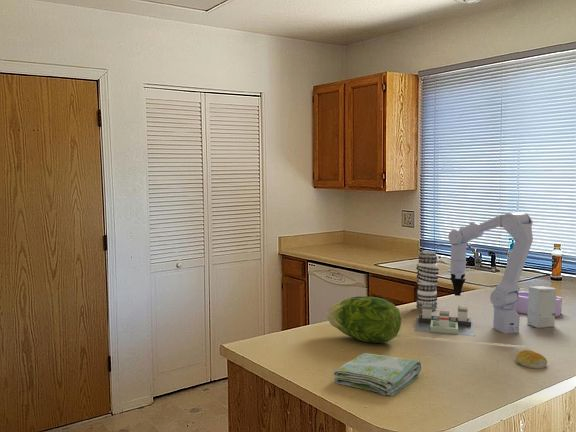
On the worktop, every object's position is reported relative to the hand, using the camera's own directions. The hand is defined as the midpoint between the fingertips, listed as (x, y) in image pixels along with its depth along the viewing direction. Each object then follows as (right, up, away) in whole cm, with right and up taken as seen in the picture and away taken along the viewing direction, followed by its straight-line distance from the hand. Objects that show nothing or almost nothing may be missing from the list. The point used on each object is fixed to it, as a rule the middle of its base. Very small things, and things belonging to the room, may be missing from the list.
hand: (457, 293), depth 219 cm
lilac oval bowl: (+37, -10, +14) cm, 40 cm away
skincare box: (+29, -11, -8) cm, 33 cm away
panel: (-9, -11, -13) cm, 20 cm away
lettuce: (-42, -12, -28) cm, 52 cm away
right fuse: (-1, -10, -10) cm, 15 cm away
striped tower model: (-9, -9, +14) cm, 19 cm away
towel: (-42, -16, -64) cm, 78 cm away
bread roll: (+7, -15, -51) cm, 54 cm away
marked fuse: (-10, -11, -17) cm, 22 cm away
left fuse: (-14, -10, -7) cm, 18 cm away
